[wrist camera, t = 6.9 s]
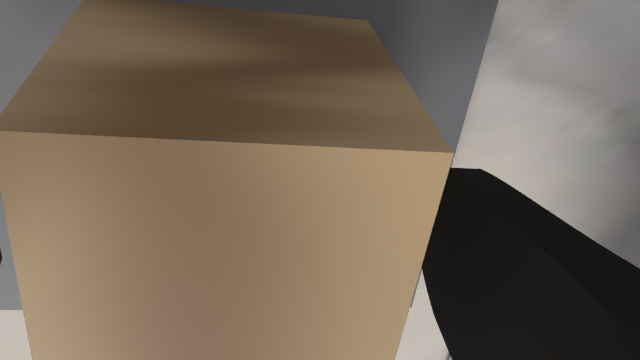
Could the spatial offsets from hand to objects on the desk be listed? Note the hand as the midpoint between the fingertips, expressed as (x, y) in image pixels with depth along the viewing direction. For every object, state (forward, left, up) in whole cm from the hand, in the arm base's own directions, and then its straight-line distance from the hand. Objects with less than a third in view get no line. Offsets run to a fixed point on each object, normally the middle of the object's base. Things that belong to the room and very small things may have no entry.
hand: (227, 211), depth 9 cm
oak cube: (0, 0, -3) cm, 3 cm away
